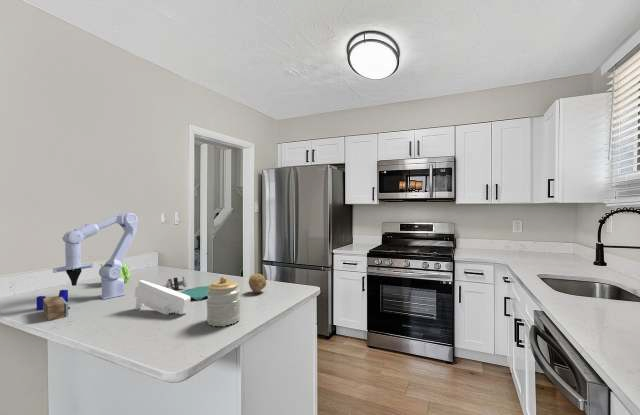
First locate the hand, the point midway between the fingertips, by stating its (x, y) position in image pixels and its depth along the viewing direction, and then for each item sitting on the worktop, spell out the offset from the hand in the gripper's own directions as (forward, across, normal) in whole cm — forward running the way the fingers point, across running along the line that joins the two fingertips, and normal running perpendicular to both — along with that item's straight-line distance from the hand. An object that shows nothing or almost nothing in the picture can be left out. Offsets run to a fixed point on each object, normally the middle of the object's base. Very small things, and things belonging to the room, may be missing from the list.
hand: (74, 285), depth 141 cm
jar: (+10, +35, -73) cm, 82 cm away
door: (+9, -5, -9) cm, 13 cm away
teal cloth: (+10, +51, -30) cm, 60 cm away
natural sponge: (+10, +67, -52) cm, 85 cm away
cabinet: (+9, -8, -9) cm, 16 cm away
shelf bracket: (+10, +23, -42) cm, 49 cm away
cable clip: (+10, -7, +8) cm, 15 cm away
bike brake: (+10, +39, -8) cm, 41 cm away
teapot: (+10, +24, +32) cm, 41 cm away
